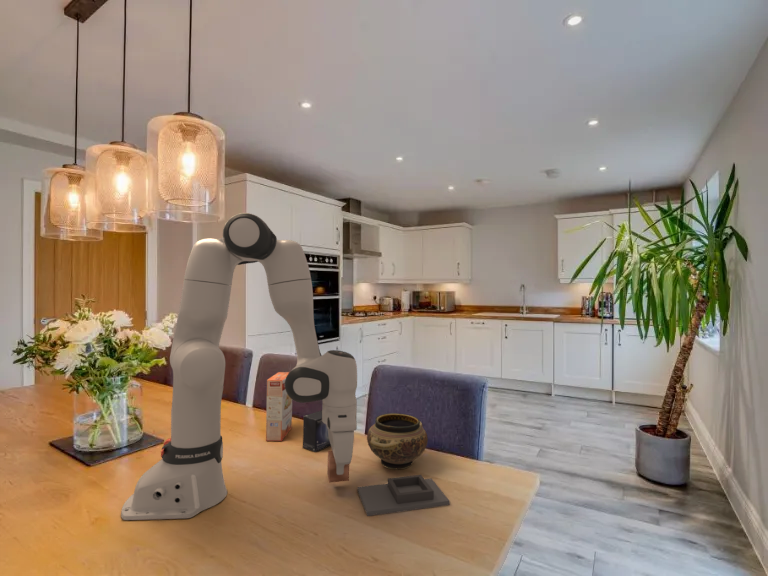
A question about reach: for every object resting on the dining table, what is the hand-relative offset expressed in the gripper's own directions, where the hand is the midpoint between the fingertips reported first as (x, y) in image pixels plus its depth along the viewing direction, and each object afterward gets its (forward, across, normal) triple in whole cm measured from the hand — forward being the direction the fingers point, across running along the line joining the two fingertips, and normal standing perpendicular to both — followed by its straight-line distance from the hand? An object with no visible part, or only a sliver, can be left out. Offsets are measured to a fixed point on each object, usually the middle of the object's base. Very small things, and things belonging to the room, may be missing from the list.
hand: (338, 468), depth 105 cm
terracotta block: (+2, 0, 0) cm, 2 cm away
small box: (+5, -31, -2) cm, 31 cm away
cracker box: (+6, -44, -15) cm, 47 cm away
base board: (+5, +8, +15) cm, 18 cm away
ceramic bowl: (+5, -12, +19) cm, 23 cm away
